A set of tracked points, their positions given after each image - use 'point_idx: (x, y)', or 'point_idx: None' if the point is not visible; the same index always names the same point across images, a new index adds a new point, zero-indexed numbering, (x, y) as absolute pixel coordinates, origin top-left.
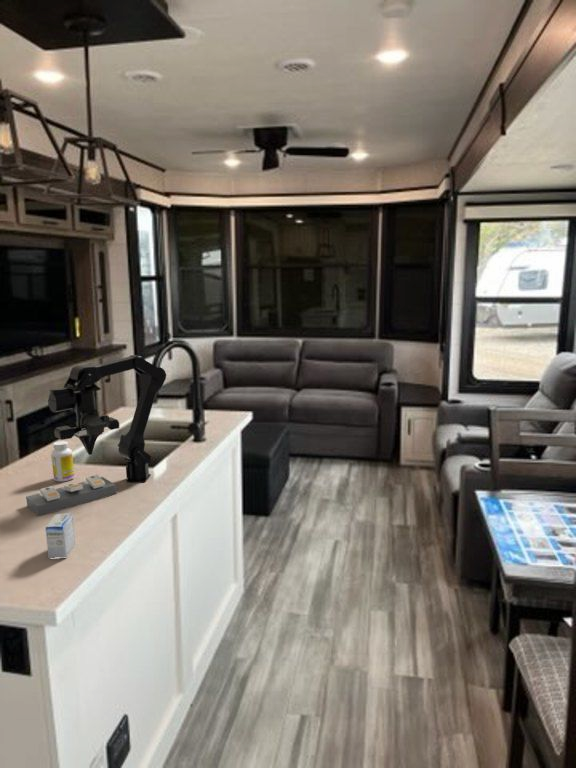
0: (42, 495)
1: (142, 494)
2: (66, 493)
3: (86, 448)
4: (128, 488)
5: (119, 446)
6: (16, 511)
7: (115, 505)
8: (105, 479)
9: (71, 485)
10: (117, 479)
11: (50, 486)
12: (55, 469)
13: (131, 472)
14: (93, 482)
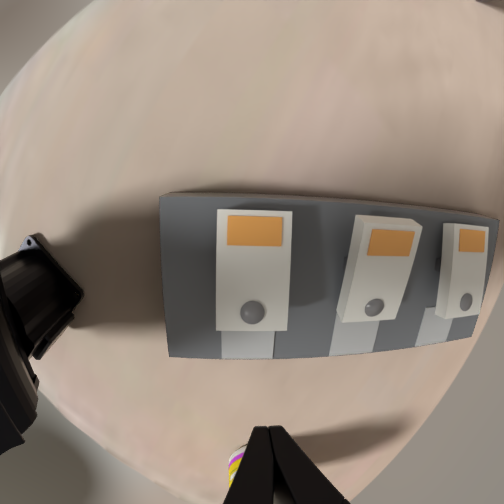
0: None
1: (93, 102)
2: None
3: (316, 484)
4: (102, 217)
5: (11, 424)
6: None
7: (243, 63)
8: (169, 315)
9: (385, 284)
10: (107, 348)
11: (452, 316)
12: None
13: (44, 299)
14: (280, 243)
